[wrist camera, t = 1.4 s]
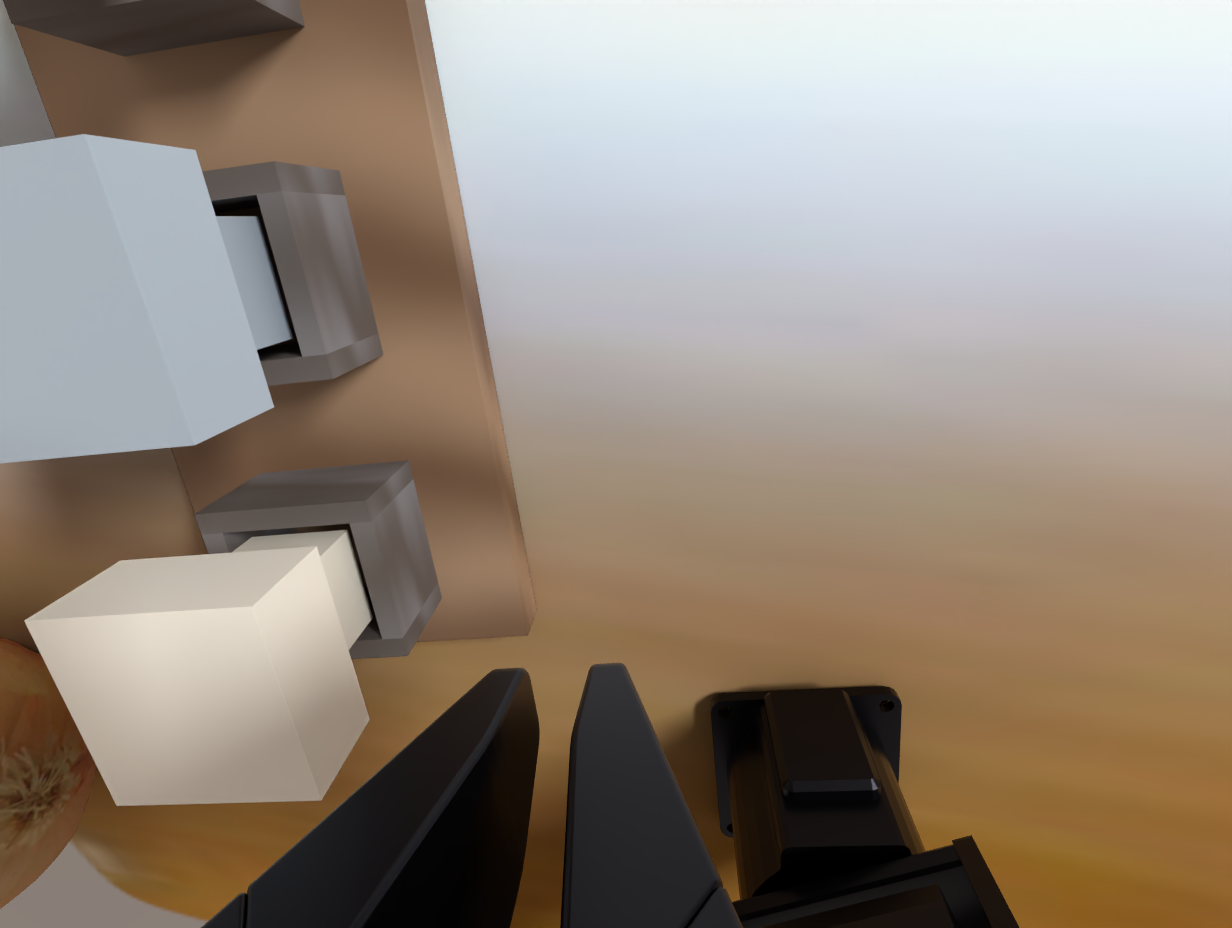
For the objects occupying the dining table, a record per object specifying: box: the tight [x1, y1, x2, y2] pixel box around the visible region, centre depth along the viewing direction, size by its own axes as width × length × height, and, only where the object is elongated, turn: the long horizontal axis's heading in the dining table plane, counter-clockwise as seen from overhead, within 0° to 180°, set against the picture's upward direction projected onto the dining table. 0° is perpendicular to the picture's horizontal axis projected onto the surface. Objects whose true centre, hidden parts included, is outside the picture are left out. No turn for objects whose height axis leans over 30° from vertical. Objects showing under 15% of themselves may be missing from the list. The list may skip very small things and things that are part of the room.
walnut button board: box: [3, 0, 537, 659], centre depth 17 cm, size 24×10×4 cm, turn 7°
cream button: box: [24, 530, 373, 806], centre depth 16 cm, size 5×5×5 cm
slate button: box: [0, 134, 293, 463], centre depth 13 cm, size 5×5×5 cm
